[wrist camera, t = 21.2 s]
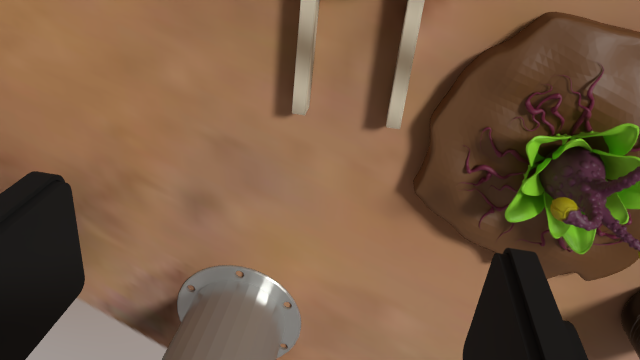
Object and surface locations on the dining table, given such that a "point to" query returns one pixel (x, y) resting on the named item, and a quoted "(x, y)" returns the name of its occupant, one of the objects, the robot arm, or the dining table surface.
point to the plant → (544, 147)
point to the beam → (402, 69)
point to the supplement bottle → (632, 321)
